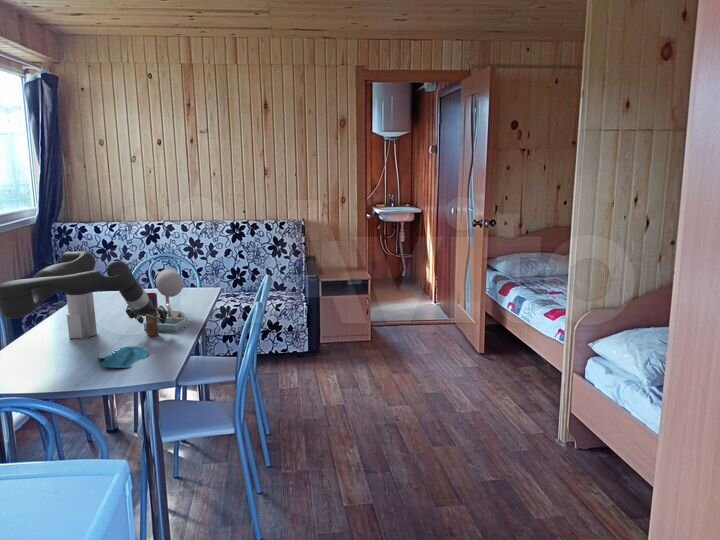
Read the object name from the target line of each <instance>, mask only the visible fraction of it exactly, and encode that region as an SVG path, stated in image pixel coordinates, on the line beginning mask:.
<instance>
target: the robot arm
mask: <svg viewBox="0 0 720 540" xmlns="http://www.w3.org/2000/svg"><path fill="white" fill-rule="evenodd" d="M95 267H96V258H95V256H94V255H93V254H92V253H90V252H88V251H65V252H63V253H62V255H61V257H60V263H55V264H52V265H48V266H46V267H44V268H42V269H41V270H39V271H37V272H36V273H35V274H34V275H33V277H32V278H22V279H14V280H8V281H5V282H2V283H0V312H1V314H2V315H3V317H4V318H7V319H9V320H10V319H11V320H12V319H13V320H14V319H18V318H23V317H26V316H27V315H29V314H31V313H32V312H34V311H35V310H36V309H38V307H39V306H40V305H42V304H43V303H44V302H45V301H47V300H48V299H49V298H51V297H53V296H54V295H56V294H58V293H59V292H60V293H63V294H65V295H66V305H67V312H68V313H67V314H66V321H67V322H66V323H67V329H68V338H69V337H70V338H69V339H77V338H80V339H79V340H81V339H82V340H83V338H84V339H87V338H91V336H92V337H94V336H96V335H97V334H98V330H97V321H96V320H97V319H96V311H95V301H94V293H95V292H99V291H101V292H107V291H108V292H119V293H120V295H121V297H122V298H123V299H124V301H125V303H126V304H127V306H126V309H125V313H126V314H127V317H128V318H129V319H131V320H133V319H135V320H136V321H137V322H138V323H140V324H143V325H144V322H145V321H144V320H145V319H144V317H146V316H151V317H153V318H158V319H159V320H160V321H161V323H162V324H164V323H165V321H166V318H167V314H168V313H167V311H168V310H166V309H165V307H164V306H163V305H159V306H158V308H156V307H155V306H153V304H152V301H151V300H150V298H149V297H148V295H147V294H146V293H147V292H146V291H145V290H144V289H143V288H142V286H141V284H140V283H139V282H138V281H137V279H136V278H135V276H134V274H133V273H132V270H131V269H130V267H129V265H128V264H127V263H126V262H124V261H121V260H115V261H112V262H111V263H109V264H108V266H107V269H106V273H107V275H104V274H102V272H100V271H99V270H96V269H95ZM154 313H155V315H153V314H154ZM158 314H160V316H158Z"/></svg>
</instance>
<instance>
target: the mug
mask: <svg viewBox="0 0 720 540" xmlns="http://www.w3.org/2000/svg"><path fill="white" fill-rule="evenodd" d="M146 294H147V295H148V297H149V298H150V300H151V301H152V304H153V306H155V307H156V308H158V307H159V306H158V294H157V293H156V292H146Z"/></svg>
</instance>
